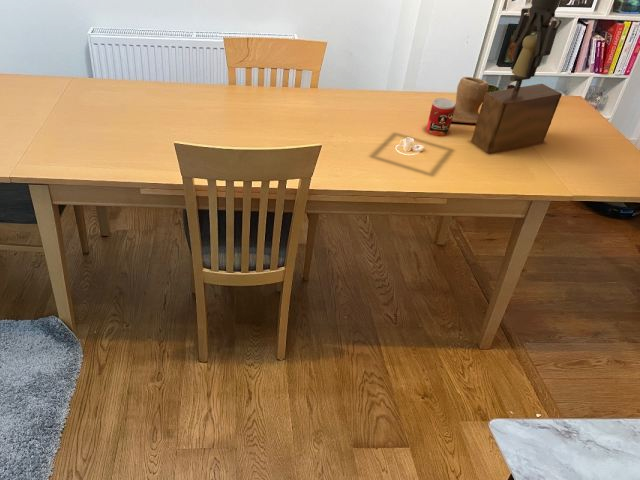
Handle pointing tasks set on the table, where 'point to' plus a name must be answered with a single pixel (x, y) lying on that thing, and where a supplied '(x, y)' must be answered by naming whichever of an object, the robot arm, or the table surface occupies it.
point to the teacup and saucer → (410, 146)
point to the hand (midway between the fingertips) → (522, 72)
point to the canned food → (440, 116)
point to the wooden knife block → (515, 116)
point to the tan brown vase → (469, 99)
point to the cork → (525, 56)
